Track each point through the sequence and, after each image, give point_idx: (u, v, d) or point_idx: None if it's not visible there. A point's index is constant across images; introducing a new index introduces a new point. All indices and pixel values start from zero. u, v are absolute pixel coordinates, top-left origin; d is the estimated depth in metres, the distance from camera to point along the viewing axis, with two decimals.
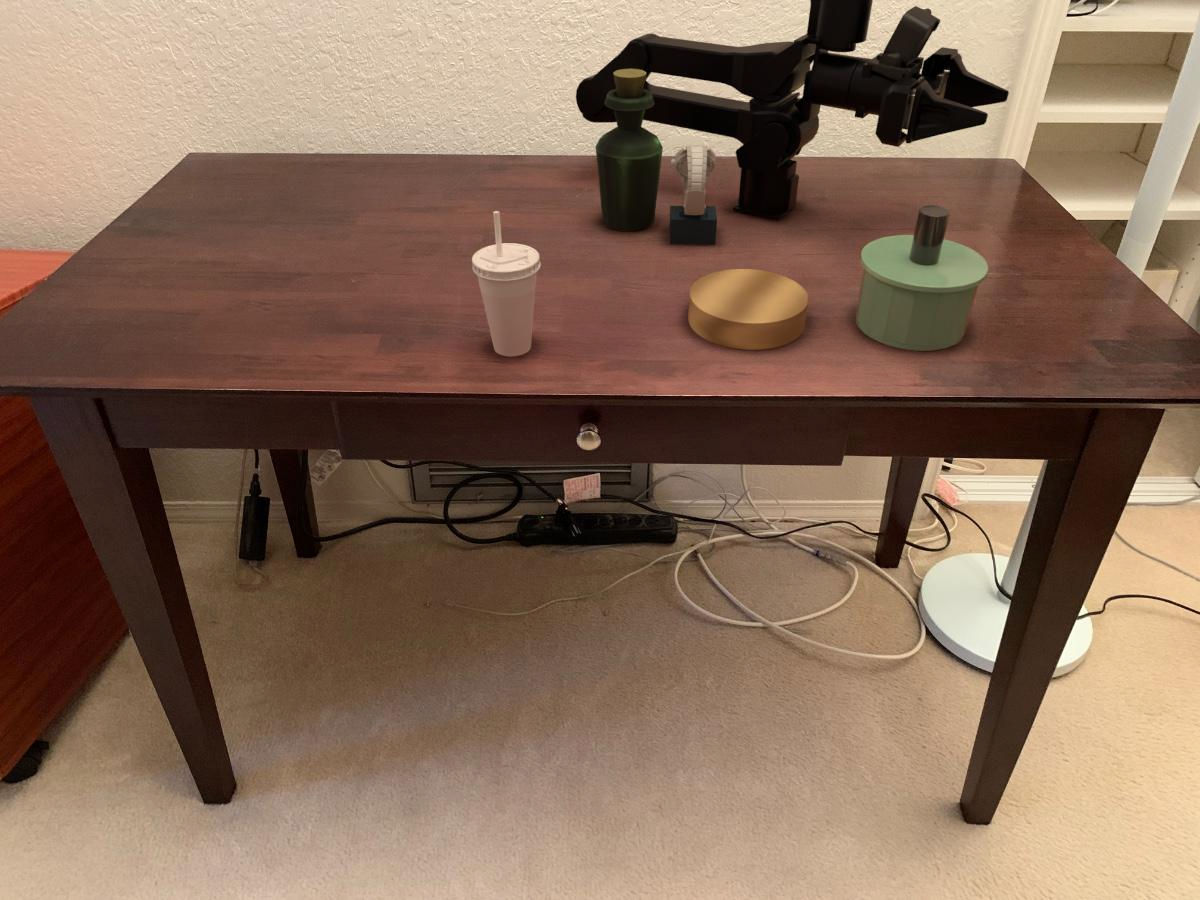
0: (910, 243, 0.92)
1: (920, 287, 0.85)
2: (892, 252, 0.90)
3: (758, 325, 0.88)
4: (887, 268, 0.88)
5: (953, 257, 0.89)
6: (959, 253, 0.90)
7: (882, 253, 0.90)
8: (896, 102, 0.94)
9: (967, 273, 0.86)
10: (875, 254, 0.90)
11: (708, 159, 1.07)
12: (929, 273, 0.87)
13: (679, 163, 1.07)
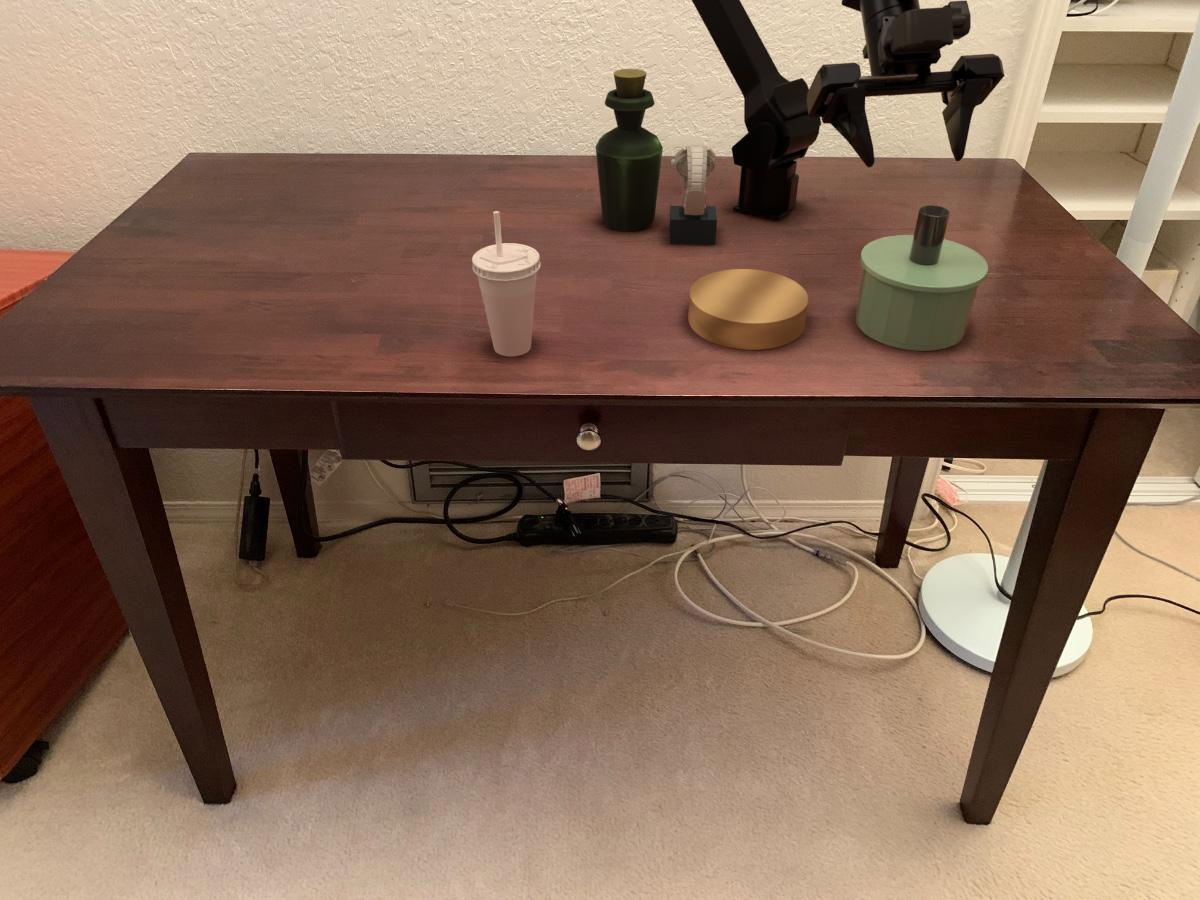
0: (910, 243, 0.92)
1: (920, 287, 0.85)
2: (892, 252, 0.90)
3: (758, 325, 0.88)
4: (887, 268, 0.88)
5: (953, 257, 0.89)
6: (959, 253, 0.90)
7: (882, 253, 0.90)
8: (817, 84, 0.91)
9: (967, 273, 0.86)
10: (875, 254, 0.90)
11: (708, 159, 1.07)
12: (929, 273, 0.87)
13: (679, 163, 1.07)
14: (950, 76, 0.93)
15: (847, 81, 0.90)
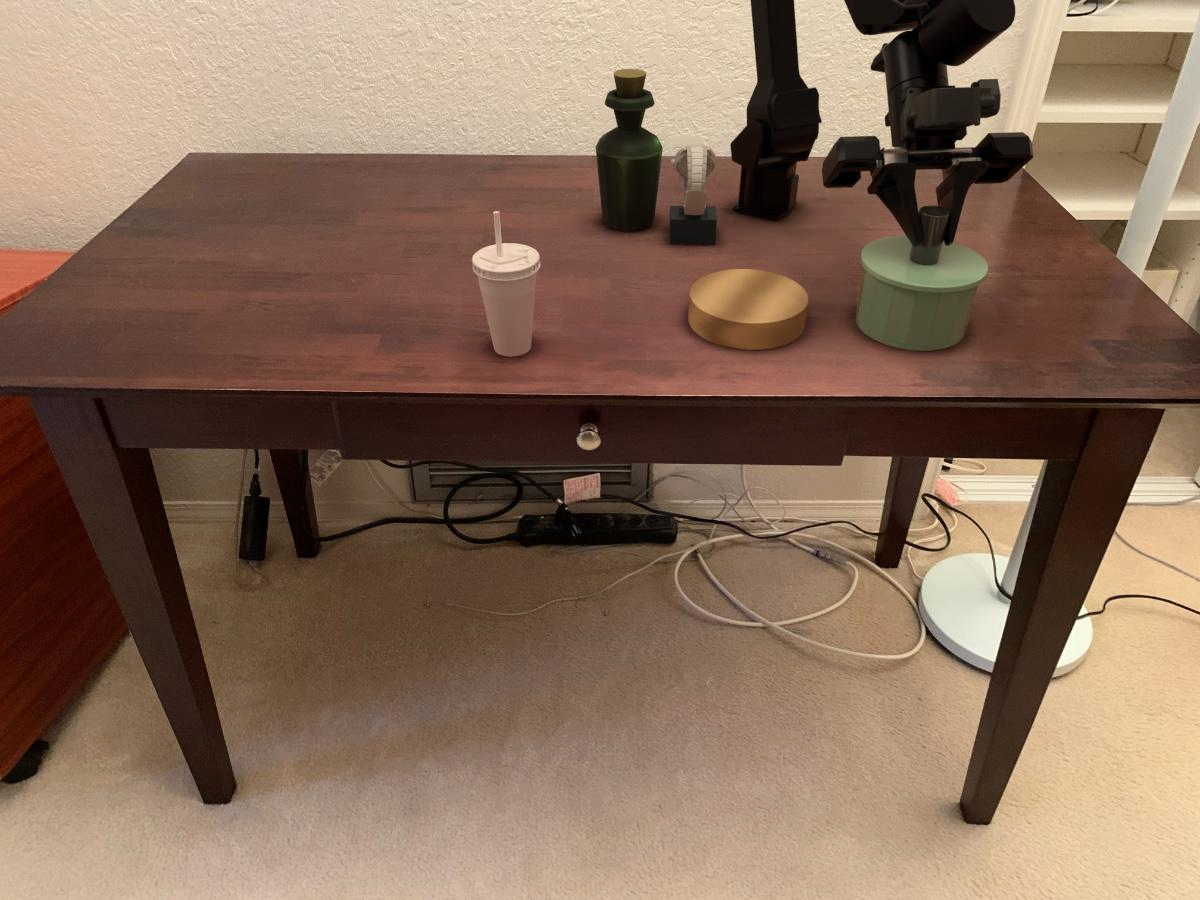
0: (910, 243, 0.92)
1: (920, 287, 0.85)
2: (892, 252, 0.90)
3: (758, 325, 0.88)
4: (887, 268, 0.88)
5: (953, 257, 0.89)
6: (959, 253, 0.90)
7: (882, 253, 0.90)
8: (833, 157, 0.86)
9: (967, 273, 0.86)
10: (875, 254, 0.90)
11: (708, 159, 1.07)
12: (929, 273, 0.87)
13: (679, 163, 1.07)
14: (976, 153, 0.88)
15: (865, 157, 0.84)
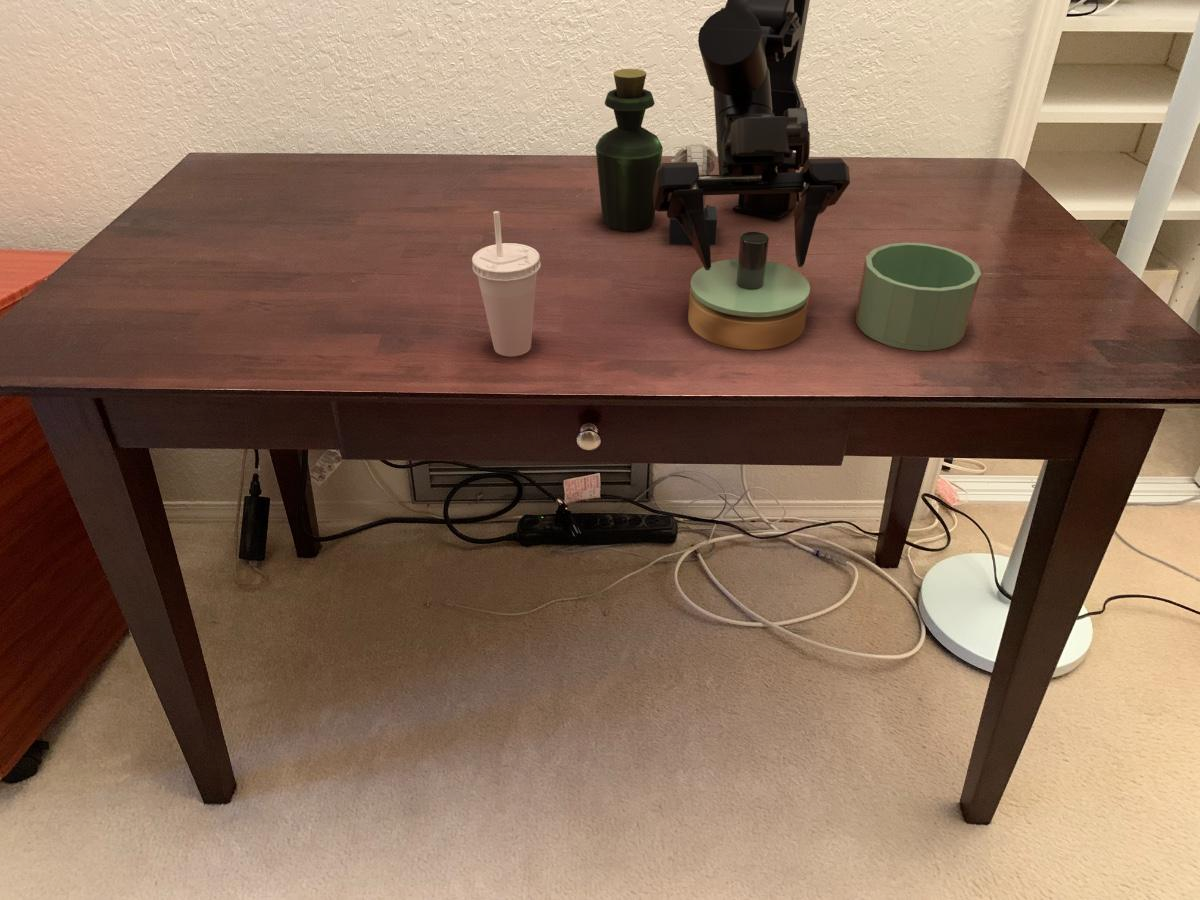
0: None
1: (738, 312, 0.87)
2: (722, 276, 0.93)
3: (758, 325, 0.88)
4: (711, 292, 0.90)
5: (779, 281, 0.92)
6: (786, 277, 0.93)
7: (712, 277, 0.93)
8: (656, 183, 0.88)
9: (787, 298, 0.89)
10: (704, 278, 0.93)
11: (708, 159, 1.07)
12: (750, 297, 0.89)
13: None
14: (798, 178, 0.90)
15: (684, 183, 0.87)
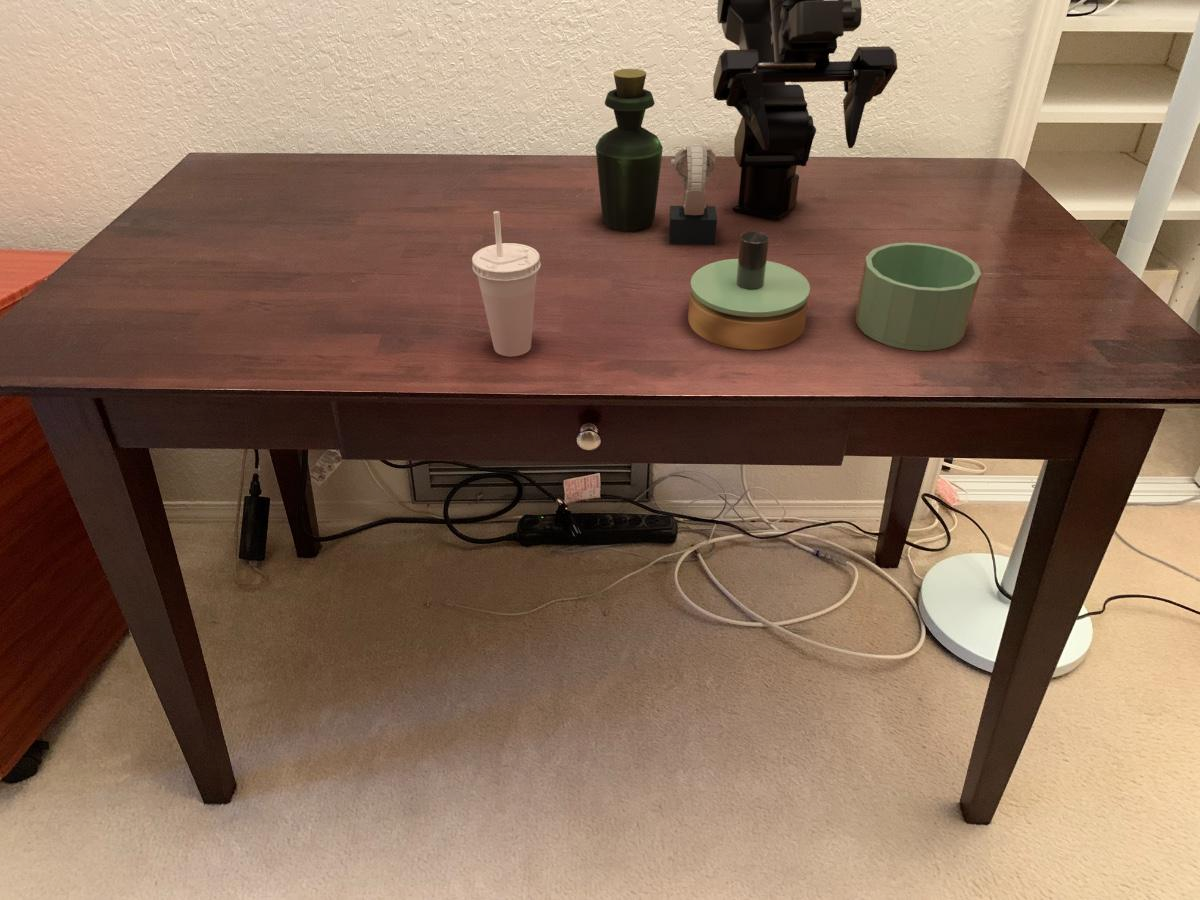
0: None
1: (738, 312, 0.87)
2: (722, 276, 0.93)
3: (758, 325, 0.88)
4: (711, 292, 0.90)
5: (779, 281, 0.92)
6: (786, 277, 0.93)
7: (712, 277, 0.93)
8: (719, 68, 0.96)
9: (787, 298, 0.89)
10: (704, 278, 0.93)
11: (708, 159, 1.07)
12: (750, 297, 0.89)
13: (679, 163, 1.07)
14: (848, 66, 0.98)
15: (745, 67, 0.94)
